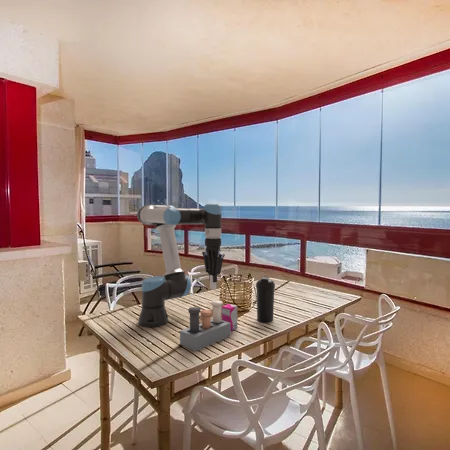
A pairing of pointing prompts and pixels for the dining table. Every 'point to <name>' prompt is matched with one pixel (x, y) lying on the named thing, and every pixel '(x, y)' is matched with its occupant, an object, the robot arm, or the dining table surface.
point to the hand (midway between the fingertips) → (213, 288)
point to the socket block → (205, 335)
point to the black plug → (194, 318)
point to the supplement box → (230, 315)
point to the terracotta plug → (206, 319)
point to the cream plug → (217, 311)
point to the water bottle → (265, 299)
